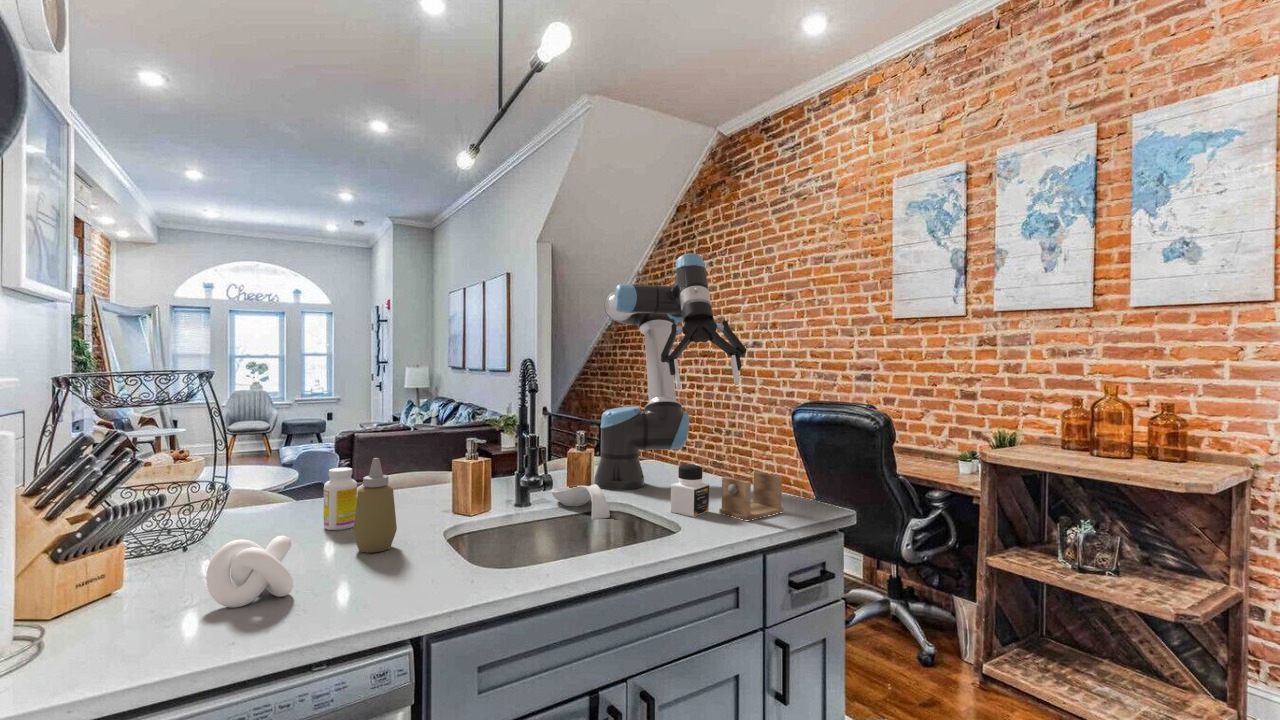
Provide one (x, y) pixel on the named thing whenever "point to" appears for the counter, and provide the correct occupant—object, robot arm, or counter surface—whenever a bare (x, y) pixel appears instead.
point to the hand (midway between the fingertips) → (707, 384)
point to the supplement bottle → (340, 499)
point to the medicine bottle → (690, 492)
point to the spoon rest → (584, 499)
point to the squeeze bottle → (375, 512)
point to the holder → (764, 496)
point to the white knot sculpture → (248, 571)
